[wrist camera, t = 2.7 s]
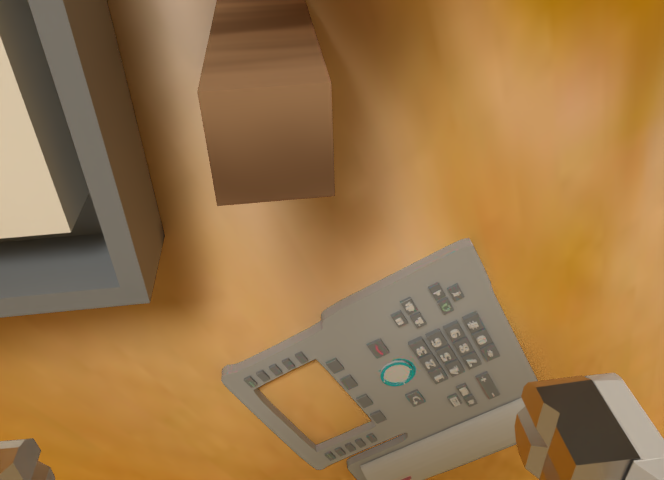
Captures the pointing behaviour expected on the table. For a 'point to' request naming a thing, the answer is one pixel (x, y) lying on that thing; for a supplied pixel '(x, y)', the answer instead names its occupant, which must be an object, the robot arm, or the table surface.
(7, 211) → the open box
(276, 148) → the peg
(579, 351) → the table surface
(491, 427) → the office telephone
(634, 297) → the table surface
